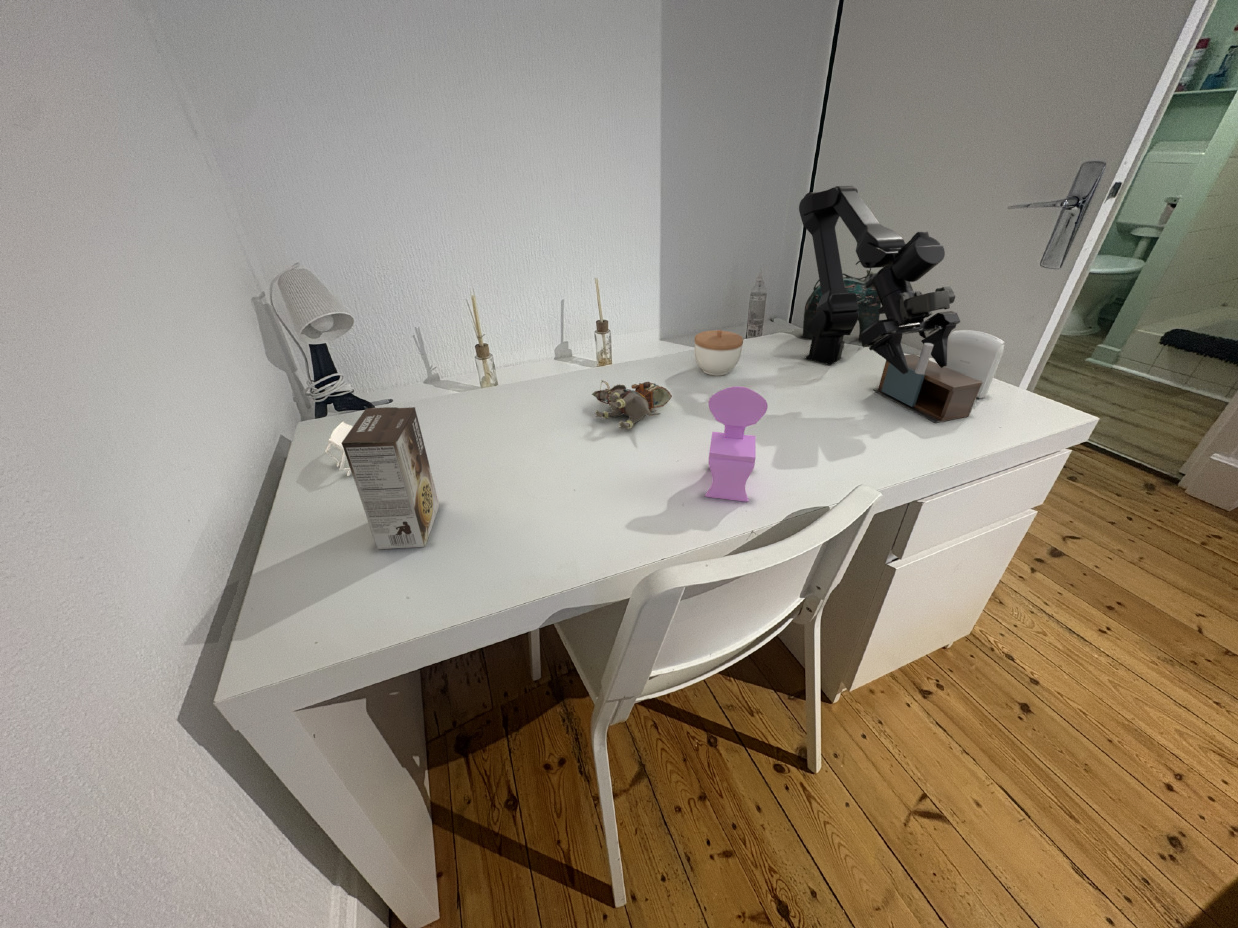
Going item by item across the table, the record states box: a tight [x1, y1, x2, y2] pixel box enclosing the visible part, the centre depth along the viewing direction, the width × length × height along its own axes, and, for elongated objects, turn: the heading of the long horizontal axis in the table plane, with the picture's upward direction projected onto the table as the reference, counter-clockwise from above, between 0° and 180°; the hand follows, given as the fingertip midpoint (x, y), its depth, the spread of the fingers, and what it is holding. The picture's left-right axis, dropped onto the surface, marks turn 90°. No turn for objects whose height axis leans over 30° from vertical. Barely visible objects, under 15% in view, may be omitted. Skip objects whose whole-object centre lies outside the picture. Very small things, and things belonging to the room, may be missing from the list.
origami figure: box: [324, 421, 354, 477], centre depth 85 cm, size 12×8×5 cm
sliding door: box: [881, 343, 933, 407], centre depth 99 cm, size 8×2×12 cm, turn 19°
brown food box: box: [341, 406, 440, 550], centre depth 66 cm, size 9×6×16 cm
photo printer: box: [945, 329, 1006, 399], centre depth 104 cm, size 10×4×12 cm, turn 39°
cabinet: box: [872, 353, 982, 424], centre depth 101 cm, size 16×8×7 cm, turn 19°
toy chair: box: [704, 385, 769, 502], centre depth 74 cm, size 8×9×15 cm
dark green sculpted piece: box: [802, 259, 882, 343], centre depth 131 cm, size 20×6×20 cm, turn 77°
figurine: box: [591, 380, 673, 430], centre depth 99 cm, size 20×6×17 cm
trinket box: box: [693, 329, 744, 377], centre depth 115 cm, size 11×11×9 cm
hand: (925, 369), depth 96 cm, fingers open, 9 cm apart
